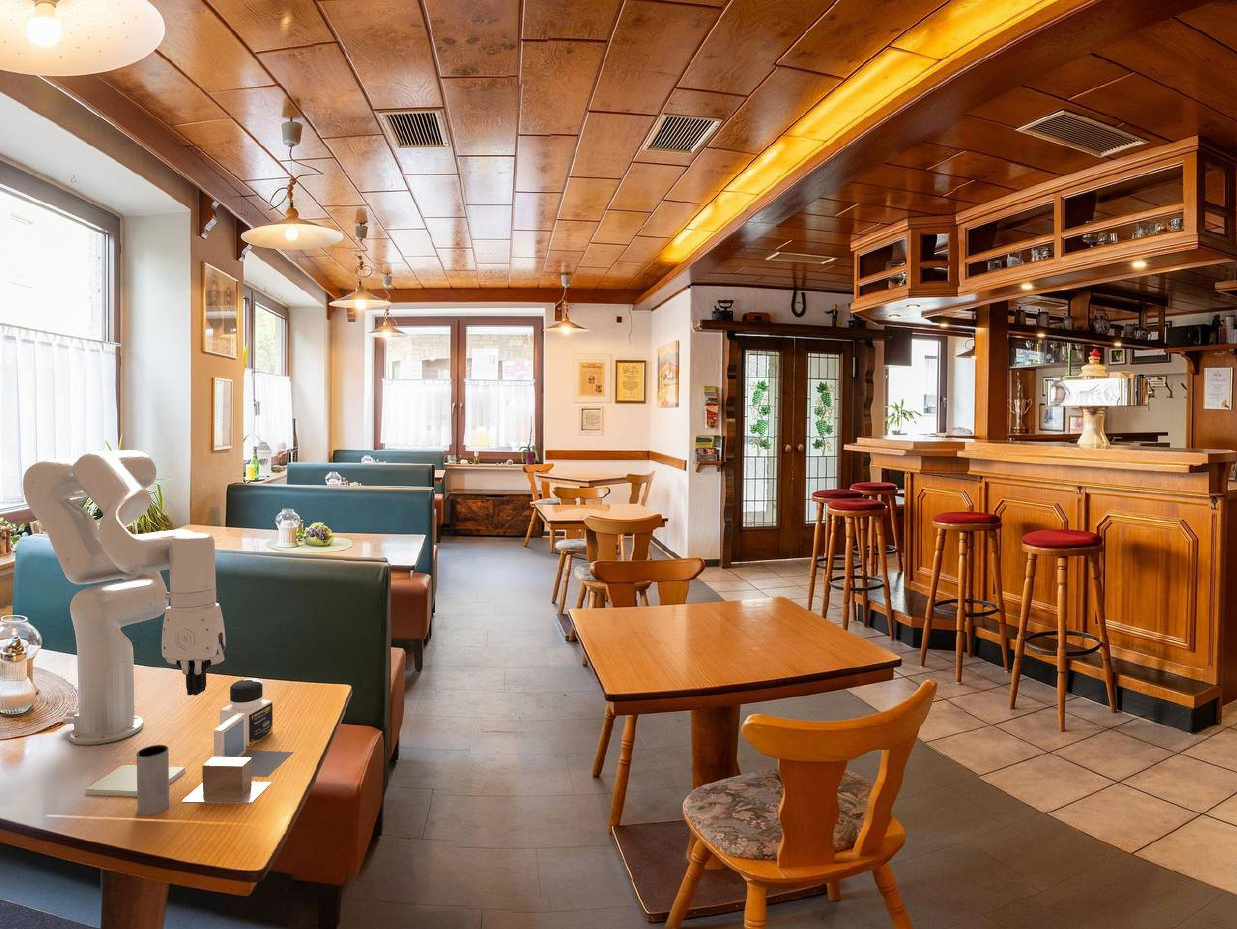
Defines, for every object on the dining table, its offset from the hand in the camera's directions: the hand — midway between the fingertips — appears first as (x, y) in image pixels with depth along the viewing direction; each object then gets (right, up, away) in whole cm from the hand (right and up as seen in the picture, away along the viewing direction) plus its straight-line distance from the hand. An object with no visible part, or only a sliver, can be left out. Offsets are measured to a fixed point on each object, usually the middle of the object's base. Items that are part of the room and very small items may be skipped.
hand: (196, 692), depth 138 cm
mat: (+10, -14, +1) cm, 17 cm away
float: (+12, -15, -10) cm, 22 cm away
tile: (+6, -14, +1) cm, 15 cm away
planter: (+2, -15, -16) cm, 22 cm away
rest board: (-6, -14, -8) cm, 17 cm away
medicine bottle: (+3, -14, +12) cm, 18 cm away
